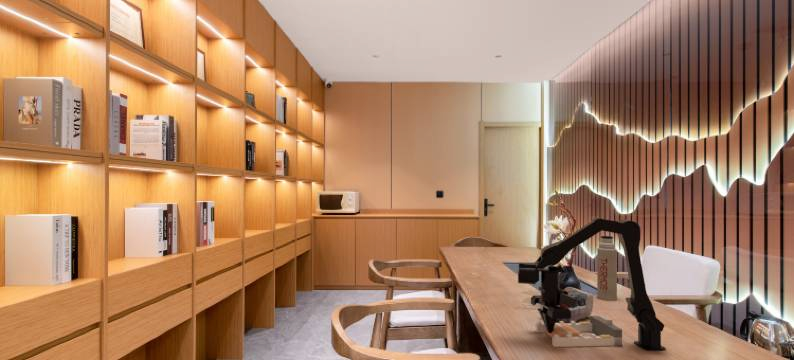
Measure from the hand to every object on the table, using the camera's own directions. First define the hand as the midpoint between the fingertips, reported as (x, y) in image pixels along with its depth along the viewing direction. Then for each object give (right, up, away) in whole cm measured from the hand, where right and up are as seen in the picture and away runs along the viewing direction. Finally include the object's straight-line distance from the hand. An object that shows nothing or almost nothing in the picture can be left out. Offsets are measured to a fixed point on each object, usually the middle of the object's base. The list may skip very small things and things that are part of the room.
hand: (549, 332), depth 144 cm
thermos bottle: (+45, -3, +53) cm, 70 cm away
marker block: (+5, -2, 0) cm, 5 cm away
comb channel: (+9, -2, +1) cm, 9 cm away
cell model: (+15, -3, +23) cm, 27 cm away
